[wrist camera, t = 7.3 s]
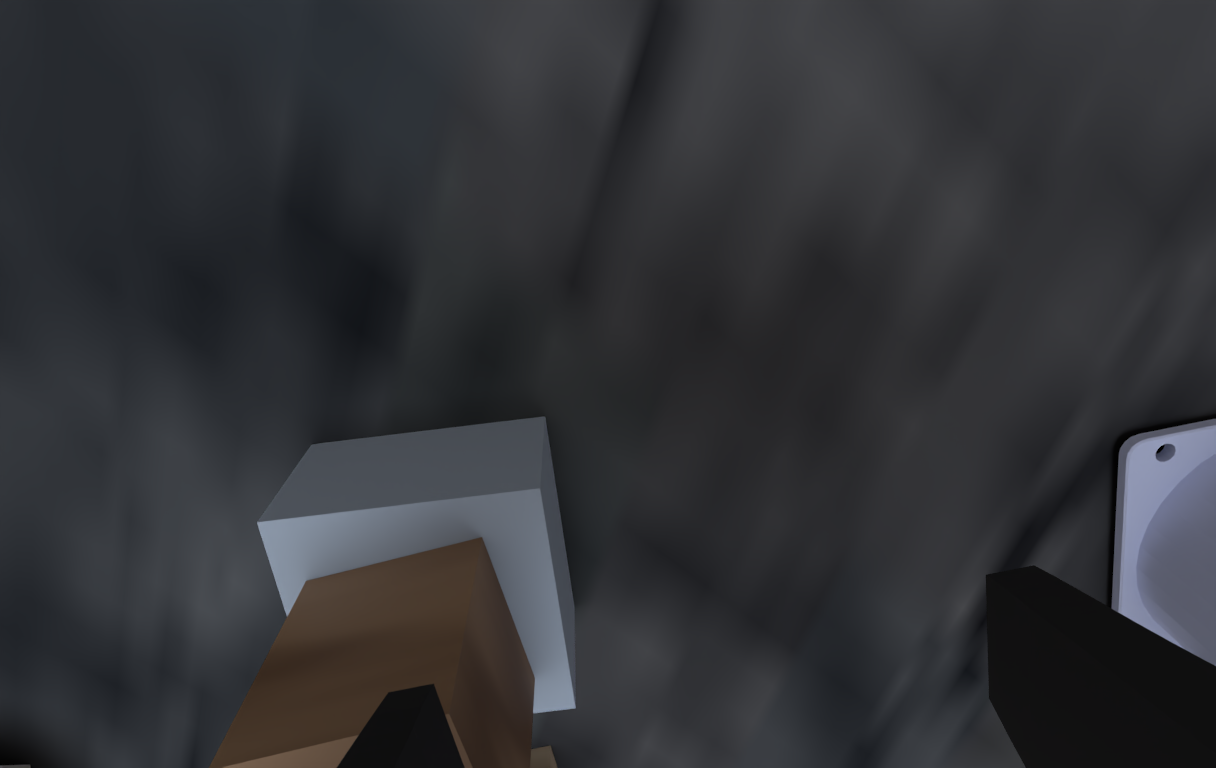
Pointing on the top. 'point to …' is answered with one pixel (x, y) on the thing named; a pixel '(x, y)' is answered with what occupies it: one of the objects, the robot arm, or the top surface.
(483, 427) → the base block
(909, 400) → the top surface
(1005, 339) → the top surface
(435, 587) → the walnut block
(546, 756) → the maple block
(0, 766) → the die
